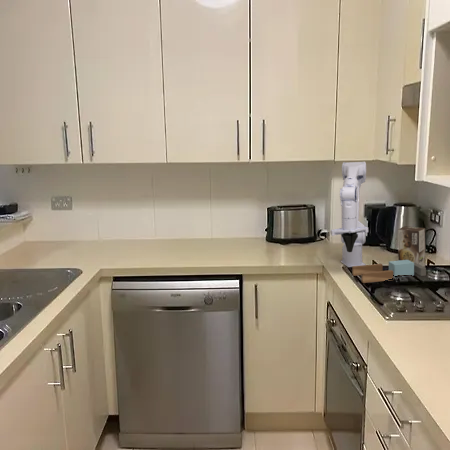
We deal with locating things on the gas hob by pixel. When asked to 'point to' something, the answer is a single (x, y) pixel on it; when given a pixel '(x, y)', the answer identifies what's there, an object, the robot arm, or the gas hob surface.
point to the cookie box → (412, 244)
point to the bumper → (419, 269)
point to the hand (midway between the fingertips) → (349, 251)
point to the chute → (372, 273)
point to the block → (401, 267)
